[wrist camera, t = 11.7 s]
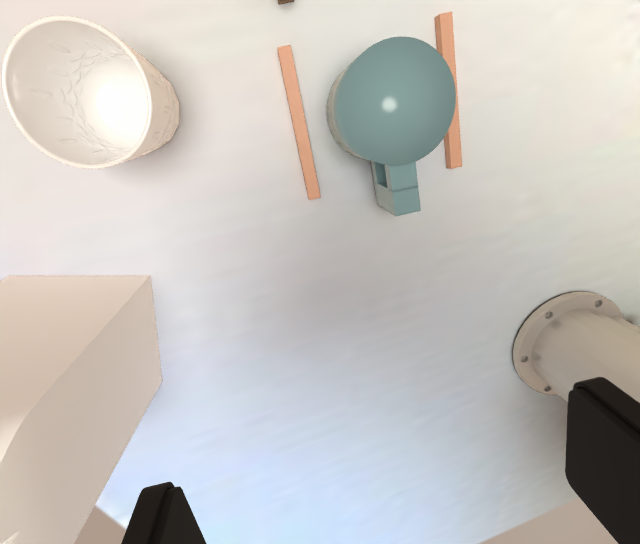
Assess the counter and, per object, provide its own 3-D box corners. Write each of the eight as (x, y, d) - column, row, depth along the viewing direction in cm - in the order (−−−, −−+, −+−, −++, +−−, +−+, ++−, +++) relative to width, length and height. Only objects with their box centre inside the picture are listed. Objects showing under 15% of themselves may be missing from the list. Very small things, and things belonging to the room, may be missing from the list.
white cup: (80, 44, 29) (-11, 3, 20) (188, 60, 30) (150, 28, 21) (88, 153, 32) (11, 161, 22) (187, 163, 33) (153, 175, 24)
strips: (446, 15, 31) (451, 11, 30) (457, 165, 35) (462, 166, 35) (277, 49, 31) (277, 47, 30) (308, 198, 35) (309, 199, 34)
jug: (412, 49, 32) (451, 25, 25) (426, 190, 36) (463, 204, 29) (318, 68, 32) (330, 50, 25) (343, 209, 36) (360, 227, 29)
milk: (150, 275, 36) (-113, 575, 11) (162, 380, 40) (-16, 772, 15) (9, 275, 34) (-632, 618, 10) (36, 384, 38) (-382, 824, 14)
